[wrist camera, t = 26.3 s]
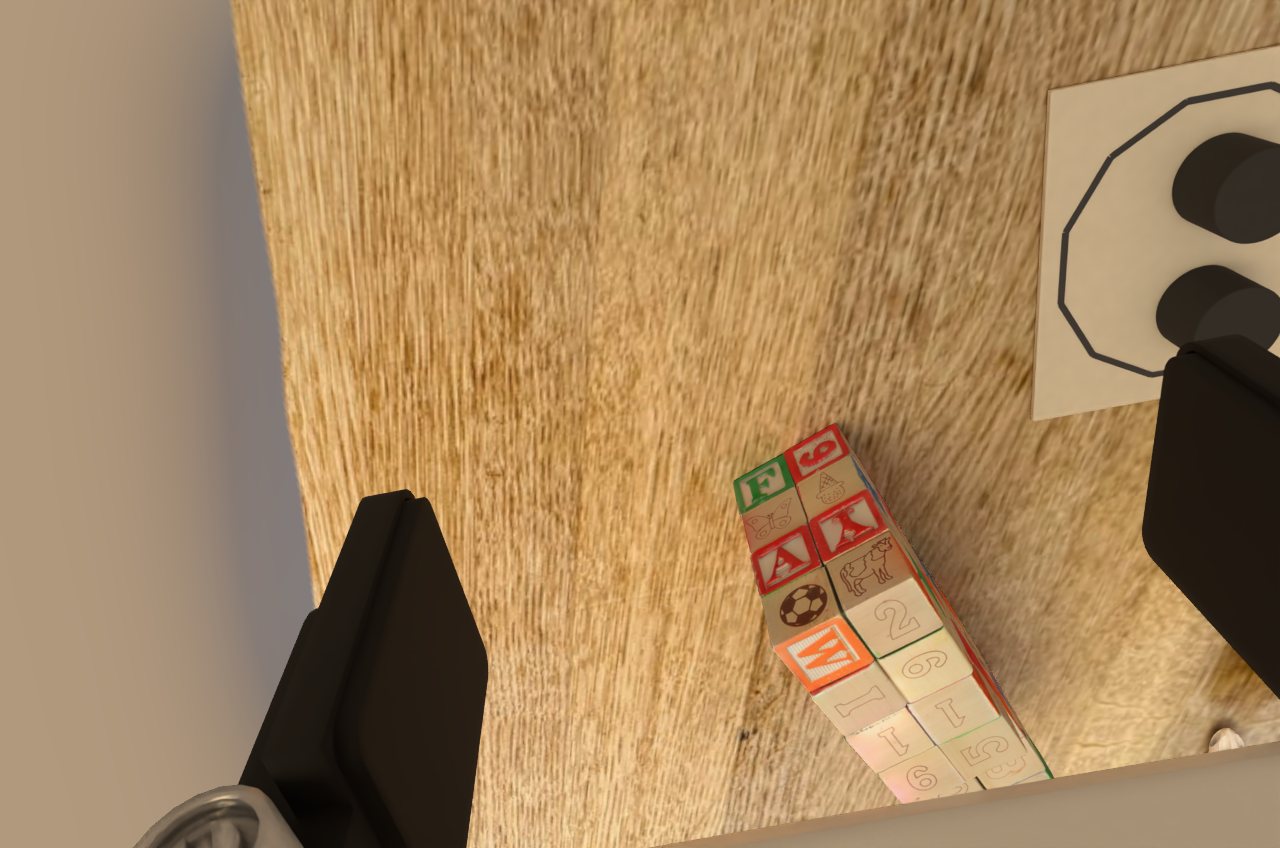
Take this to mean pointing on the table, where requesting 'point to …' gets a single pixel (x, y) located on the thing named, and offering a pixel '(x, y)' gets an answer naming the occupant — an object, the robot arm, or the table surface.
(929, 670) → the stack of blocks
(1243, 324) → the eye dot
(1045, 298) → the face card
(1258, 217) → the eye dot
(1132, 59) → the table surface
